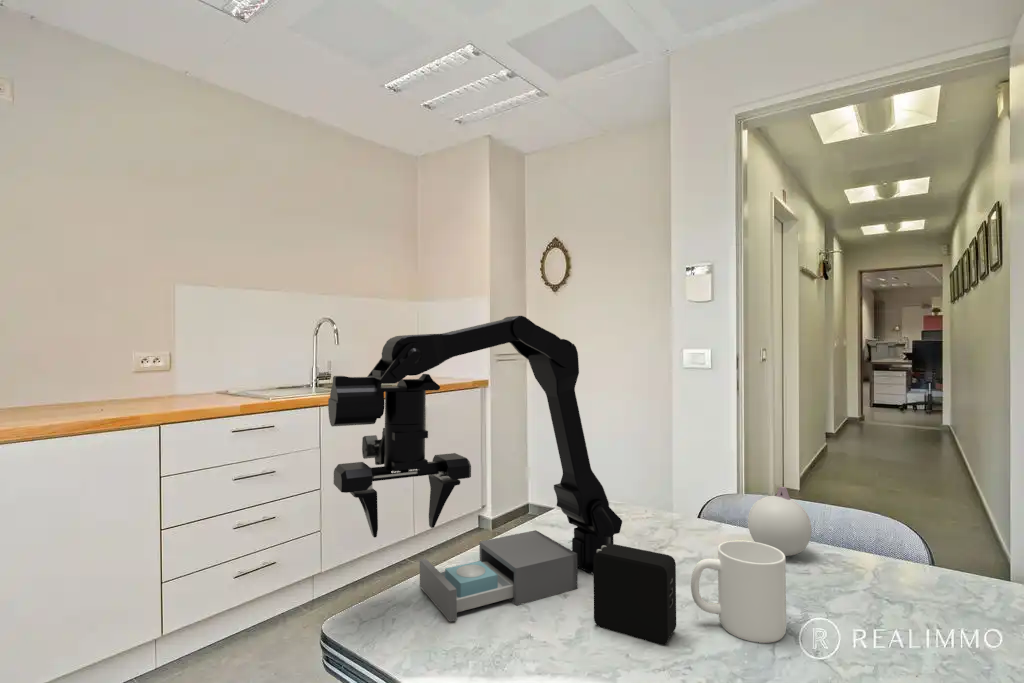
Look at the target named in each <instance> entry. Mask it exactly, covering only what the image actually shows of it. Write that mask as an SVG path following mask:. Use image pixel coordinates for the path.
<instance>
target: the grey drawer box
mask: <svg viewBox="0 0 1024 683" xmlns="http://www.w3.org/2000/svg"><path fill="white" fill-rule="evenodd" d="M479 561H481V562H485V561H487V562H489V563H490V564H491V565H492V566H494V567H495V568H496V569H498V570H499V571H500V572H501V573H503V574H504V575H505V576H506V577H508V578H509V579H510V580H512V581H513V582H514V597H513V598H509V599H508V600H509V601H511V602H512V603H513V604H514V605H515V606H520V605H523V604H527V603H531V602H534V601H537V600H541V599H544V598H548V597H552V596H555V595H559V594H562V593H566V592H569V591H574V590H577V589H578V586H579V585H578V583H579V582H578V566H577V553H575V552H573V551H572V550H571V549H570V548H568V547H566V546H564V545H562V544H561V543H559V542H557V541H556V540H554V539H552V538H550V537H549V536H546V535H545V534H543V533H541V532H540V531H539V530H529V531H526V532H521V533H515V534H511V535H506V536H501V537H496V538H490V539H486V540H485V539H484V540H480V541H479Z"/></svg>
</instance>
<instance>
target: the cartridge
mask: <svg viewBox="0 0 1024 683" xmlns="http://www.w3.org/2000/svg"><path fill="white" fill-rule="evenodd" d="M444 570H445V578H446V579H447V580H448V581H449V582H450V583H451V584H452V585H453V586H454V587H455V588H456V589H457V597H458V598H461V597H465V596H469V595H473V594H476V593H480V592H484V591H488V590H492V589H496V588H498V575H497V574H496V573H495V572H494V571H492V570H491V569H490V568H489V567H487V566H486V565H485V564H484V563H482V562H481V561H480V560H478V561H472V562H469V563H464V564H460V565H454V566H451V567H448V568H446V567H445V568H444Z"/></svg>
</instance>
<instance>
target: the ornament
mask: <svg viewBox="0 0 1024 683" xmlns="http://www.w3.org/2000/svg"><path fill="white" fill-rule="evenodd" d="M747 525H748V531H749V534H750V536H751V538H752V540H753V542H758V543H762V544H766V545H769V546H772V547H774V548H777V549H778V550H780V551H782V552H783V553H784V555H785V557H791V556H796V555H798V554H800V553H801V552H803V551H804V550H805V549H806V548H807V546H808V545H809V543H810V540H811V537H812V524H811V519H810V517H809V515H808V512H807V511H806V510H805V509H804V507H803V506H802V505H801V504H800V503H798V502H797V501H795V500H793V499H791V497H790V495H789V492H788V489H787V487H786V486H779V487H778V490H777V493H776V495H769V496H764V497H761V498H760V499H758V500H756V501H755V502H754V503H753V505H752V506H751V508H750V510H749V513H748V518H747Z"/></svg>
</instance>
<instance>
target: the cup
mask: <svg viewBox="0 0 1024 683" xmlns="http://www.w3.org/2000/svg"><path fill="white" fill-rule="evenodd" d="M786 561H787V560H786V556H785V555H784V553H783V552H782V551H780V550H778V549H777V548H774V547H772V546H769V545H766V544H762V543H758V542H755V541H751V540H740V539H739V540H728V541H723V542H721V543H720V544H718V546H717V558H704V559H701V560H699V561H698V562H697V563H695V566H694V567H693V570H692V573H691V578H690V590H691V592H690V593H691V597H692V600H693V602H694V603H695V604H696V606H697V607H698V608H699V609H700V610H702V611H703V612H705V613H709V614H714V615H718V620H719V622H720V626H722V627H723V629H724V630H725V631H726V632H728V634H731V635H732V636H734V637H736V638H739V639H742V640H745V641H747V642H751V643H758V642H759V644H770V643H775V642H779V641H780V640H782V638H783V637H785V634H786V630H787V580H786V579H787V578H786V577H787V576H786V571H787V570H786V566H787V565H786ZM706 569H711V570H716V571H717V584H718V585H717V591H718V593H717V594H718V596H717V597H718V598H717V599H718V601H717V602H718V603H717V602H715V603H710V602H707V601H705V600H704V599H703V598H702V596H701V593H700V582H701V580H700V579H701V576H702V573H703V571H704V570H706Z"/></svg>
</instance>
